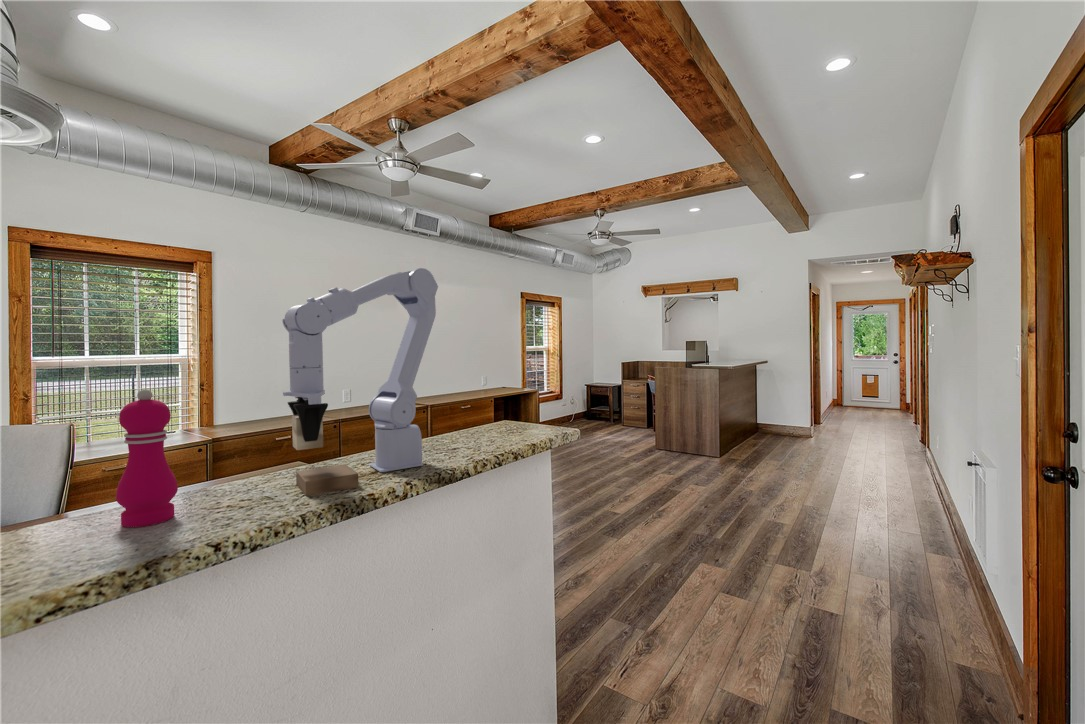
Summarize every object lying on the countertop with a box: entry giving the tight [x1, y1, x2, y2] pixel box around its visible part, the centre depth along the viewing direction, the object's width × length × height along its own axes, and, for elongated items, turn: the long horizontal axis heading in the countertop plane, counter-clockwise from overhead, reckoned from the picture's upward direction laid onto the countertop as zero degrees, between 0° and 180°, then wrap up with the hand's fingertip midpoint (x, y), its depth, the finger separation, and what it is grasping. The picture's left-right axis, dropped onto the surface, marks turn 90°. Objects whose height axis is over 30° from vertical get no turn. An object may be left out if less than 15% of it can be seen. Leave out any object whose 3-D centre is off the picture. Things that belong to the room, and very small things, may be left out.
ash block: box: [291, 414, 324, 451], centre depth 90 cm, size 4×4×6 cm
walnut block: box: [295, 463, 359, 497], centre depth 90 cm, size 9×9×3 cm
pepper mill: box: [115, 388, 179, 528], centre depth 72 cm, size 7×7×20 cm
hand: (308, 438), depth 90 cm, fingers closed on ash block, 4 cm apart
